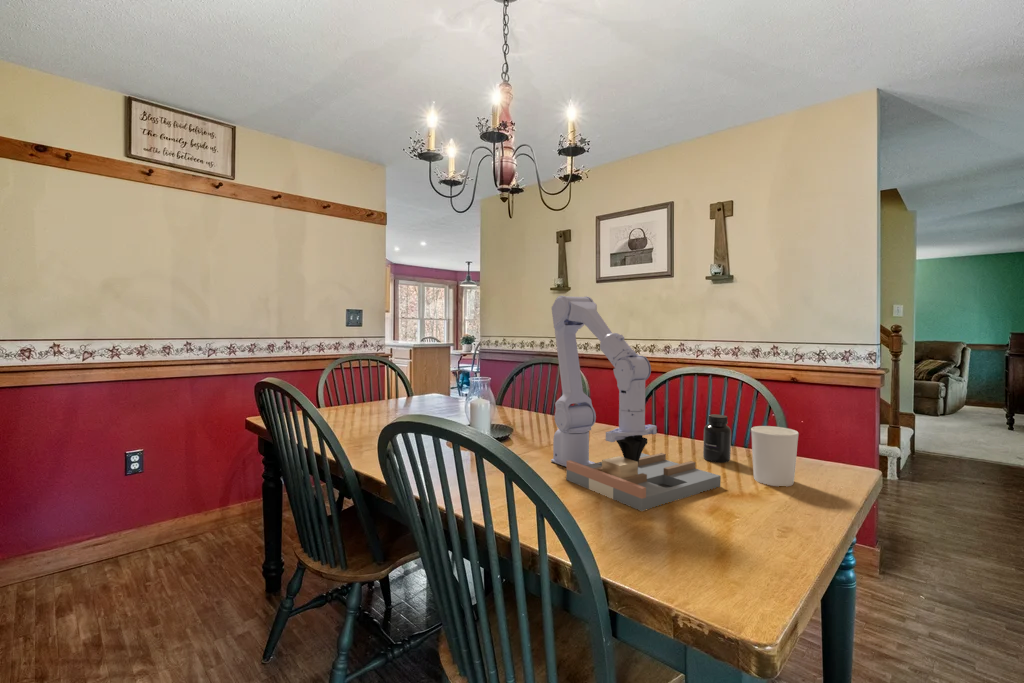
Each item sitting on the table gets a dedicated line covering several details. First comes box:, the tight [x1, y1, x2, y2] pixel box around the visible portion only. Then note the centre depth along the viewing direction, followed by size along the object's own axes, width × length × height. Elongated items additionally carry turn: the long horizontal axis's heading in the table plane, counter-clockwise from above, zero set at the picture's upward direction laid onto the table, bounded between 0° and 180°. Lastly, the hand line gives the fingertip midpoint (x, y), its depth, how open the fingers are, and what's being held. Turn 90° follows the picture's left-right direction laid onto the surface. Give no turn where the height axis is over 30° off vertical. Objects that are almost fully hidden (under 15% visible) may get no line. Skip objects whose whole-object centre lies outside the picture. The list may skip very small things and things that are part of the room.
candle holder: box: [750, 425, 800, 487], centre depth 113 cm, size 10×10×12 cm
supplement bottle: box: [702, 414, 732, 464], centre depth 131 cm, size 7×7×12 cm
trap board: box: [565, 452, 722, 512], centre depth 112 cm, size 23×26×4 cm
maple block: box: [601, 455, 638, 479], centre depth 107 cm, size 6×6×4 cm
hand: (631, 468), depth 110 cm, fingers closed
